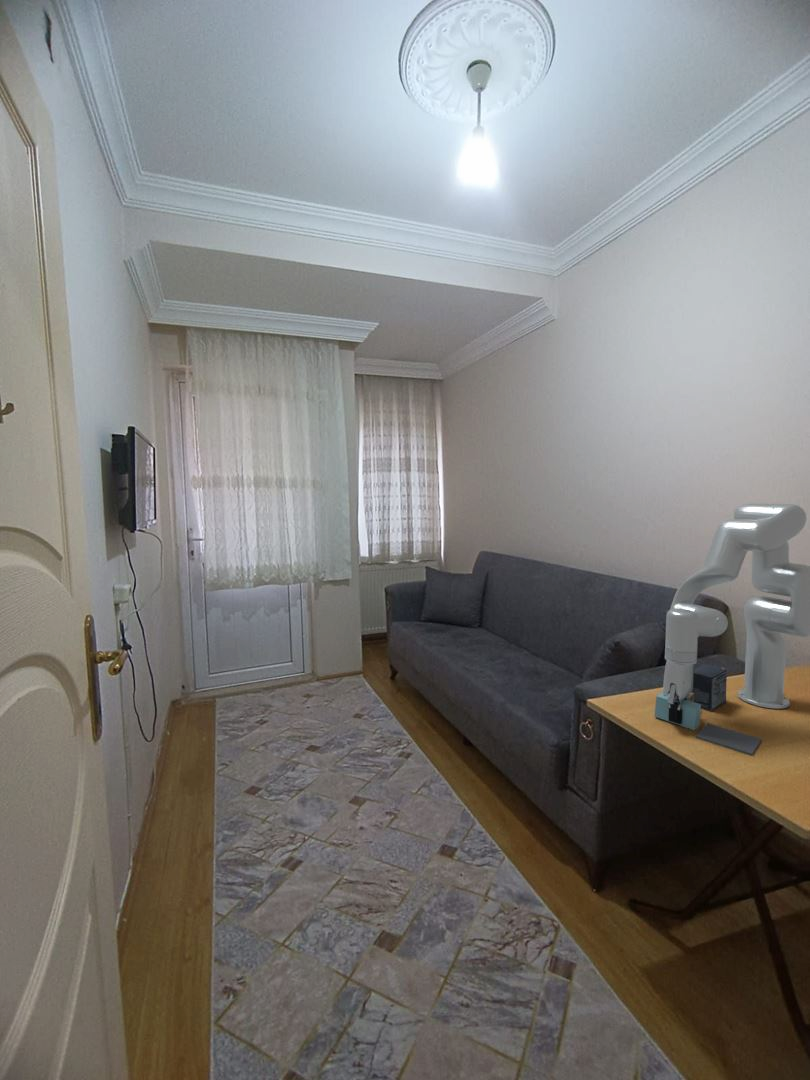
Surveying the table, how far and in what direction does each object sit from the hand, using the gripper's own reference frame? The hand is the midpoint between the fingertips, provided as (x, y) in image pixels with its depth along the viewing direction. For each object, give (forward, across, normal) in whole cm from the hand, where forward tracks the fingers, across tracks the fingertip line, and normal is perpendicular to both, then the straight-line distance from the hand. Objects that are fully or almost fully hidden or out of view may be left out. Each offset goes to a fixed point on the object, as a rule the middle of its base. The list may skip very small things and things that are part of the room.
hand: (678, 718), depth 132 cm
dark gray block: (+1, +1, +12) cm, 12 cm away
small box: (+1, -19, +2) cm, 19 cm away
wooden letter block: (+1, -9, -2) cm, 9 cm away
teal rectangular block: (+1, 0, 0) cm, 1 cm away
